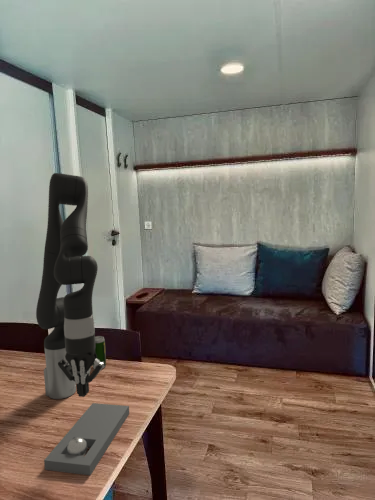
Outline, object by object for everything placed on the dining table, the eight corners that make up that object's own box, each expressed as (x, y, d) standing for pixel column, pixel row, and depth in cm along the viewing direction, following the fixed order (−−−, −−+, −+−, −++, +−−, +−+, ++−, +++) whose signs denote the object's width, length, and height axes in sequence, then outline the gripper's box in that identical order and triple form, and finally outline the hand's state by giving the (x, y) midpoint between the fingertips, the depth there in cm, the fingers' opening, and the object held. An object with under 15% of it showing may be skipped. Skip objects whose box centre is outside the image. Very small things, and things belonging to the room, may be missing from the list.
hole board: (44, 469, 87) (44, 460, 87) (93, 410, 112) (92, 403, 112) (90, 475, 85) (89, 465, 84) (129, 413, 110) (128, 405, 110)
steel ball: (68, 433, 91) (74, 439, 95) (60, 455, 88) (68, 460, 91) (86, 435, 90) (92, 441, 94) (79, 457, 87) (86, 463, 90)
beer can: (95, 371, 140) (93, 341, 139) (90, 366, 145) (88, 337, 143) (108, 367, 143) (106, 338, 142) (103, 362, 148) (101, 335, 146)
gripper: (48, 336, 90) (52, 400, 93) (96, 339, 88) (99, 405, 90) (64, 326, 98) (68, 386, 100) (109, 329, 95) (112, 390, 97)
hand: (83, 395), depth 95 cm, fingers closed
